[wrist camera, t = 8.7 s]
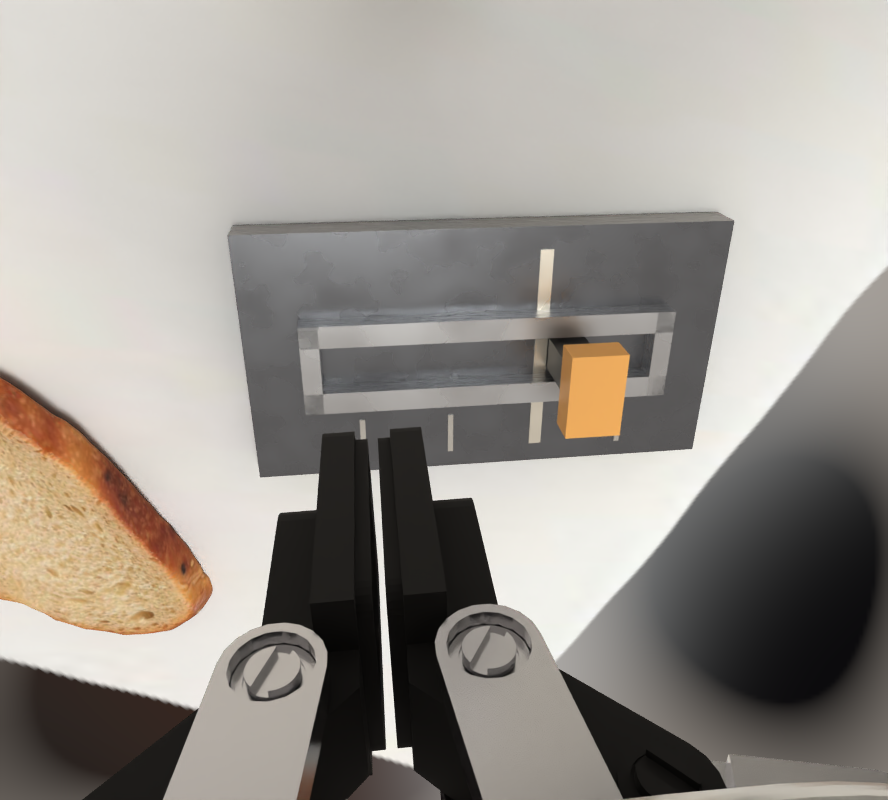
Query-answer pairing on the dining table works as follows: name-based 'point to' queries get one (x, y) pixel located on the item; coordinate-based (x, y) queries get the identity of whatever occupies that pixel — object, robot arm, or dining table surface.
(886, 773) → the robot arm
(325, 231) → the console
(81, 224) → the dining table surface
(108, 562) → the bread slice
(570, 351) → the fader tab
